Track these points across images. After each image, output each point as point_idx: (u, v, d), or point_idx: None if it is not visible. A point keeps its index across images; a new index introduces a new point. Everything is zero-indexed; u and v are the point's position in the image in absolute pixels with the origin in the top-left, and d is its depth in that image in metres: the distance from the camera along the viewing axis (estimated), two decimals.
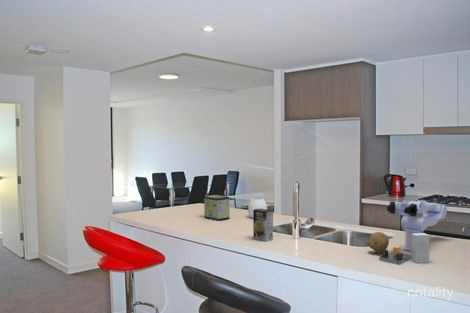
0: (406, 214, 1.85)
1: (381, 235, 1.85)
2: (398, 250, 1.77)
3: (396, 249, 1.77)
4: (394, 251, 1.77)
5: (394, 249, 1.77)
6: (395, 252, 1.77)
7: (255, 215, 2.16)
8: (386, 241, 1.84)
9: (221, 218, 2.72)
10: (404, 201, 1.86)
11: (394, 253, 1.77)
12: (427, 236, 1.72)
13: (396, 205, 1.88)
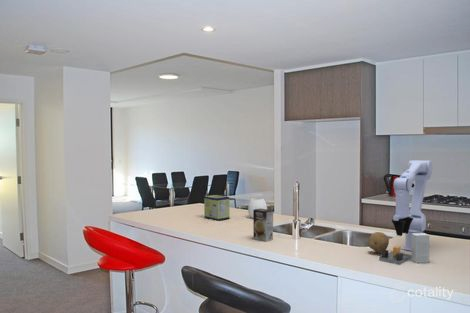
0: None
1: (381, 235, 1.85)
2: (398, 250, 1.77)
3: (396, 249, 1.77)
4: (394, 251, 1.77)
5: (394, 249, 1.77)
6: (395, 252, 1.77)
7: (255, 215, 2.16)
8: (386, 241, 1.84)
9: (221, 218, 2.72)
10: (409, 216, 1.80)
11: (394, 253, 1.77)
12: (427, 236, 1.72)
13: None
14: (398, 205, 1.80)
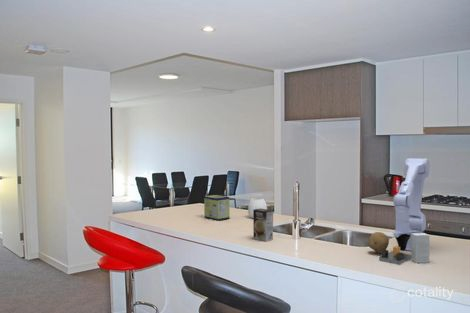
0: None
1: (381, 235, 1.85)
2: (398, 250, 1.77)
3: (396, 249, 1.77)
4: (394, 251, 1.77)
5: (394, 249, 1.77)
6: (395, 252, 1.77)
7: (255, 215, 2.16)
8: (386, 241, 1.84)
9: (221, 218, 2.72)
10: (409, 232, 1.80)
11: (394, 253, 1.77)
12: (427, 236, 1.72)
13: None
14: (398, 221, 1.81)
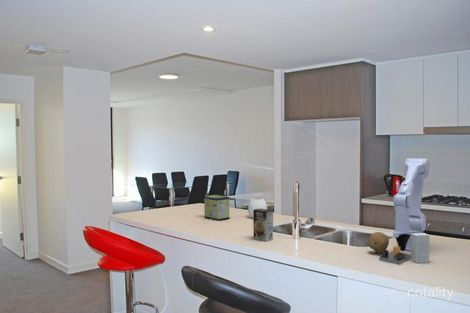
0: None
1: (381, 235, 1.85)
2: (398, 250, 1.77)
3: (396, 249, 1.77)
4: (394, 251, 1.77)
5: (394, 249, 1.77)
6: (395, 252, 1.77)
7: (255, 215, 2.16)
8: (386, 241, 1.84)
9: (221, 218, 2.72)
10: (409, 232, 1.80)
11: (394, 253, 1.77)
12: (427, 236, 1.72)
13: None
14: (398, 221, 1.81)
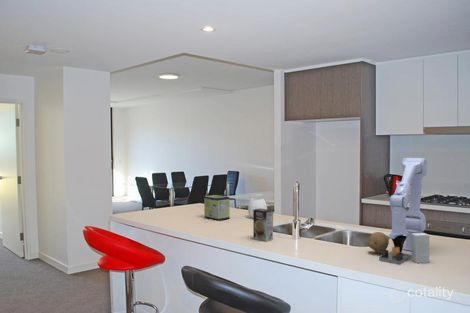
0: None
1: (381, 235, 1.85)
2: (397, 250, 1.77)
3: (395, 249, 1.76)
4: (393, 251, 1.77)
5: (393, 249, 1.77)
6: (394, 252, 1.77)
7: (255, 215, 2.16)
8: (386, 241, 1.84)
9: (221, 218, 2.72)
10: None
11: (393, 253, 1.77)
12: (427, 236, 1.72)
13: None
14: (394, 222, 1.78)
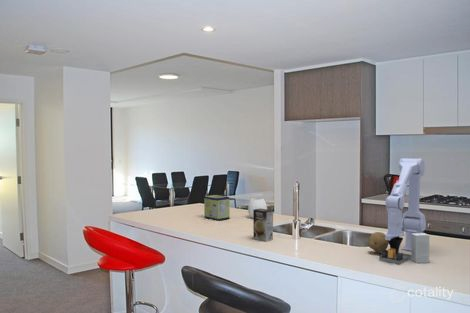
0: None
1: (381, 235, 1.85)
2: (393, 252, 1.74)
3: (391, 251, 1.73)
4: (389, 253, 1.74)
5: (389, 251, 1.74)
6: (390, 254, 1.74)
7: (255, 215, 2.16)
8: (386, 241, 1.84)
9: (221, 218, 2.72)
10: (402, 235, 1.74)
11: (389, 255, 1.74)
12: (427, 236, 1.72)
13: None
14: (390, 224, 1.75)
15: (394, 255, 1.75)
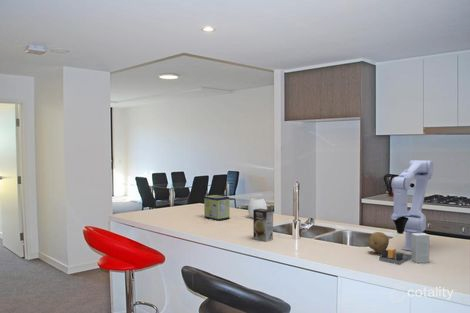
0: None
1: (381, 235, 1.85)
2: (393, 252, 1.74)
3: (391, 251, 1.73)
4: (389, 253, 1.74)
5: (389, 251, 1.74)
6: (390, 254, 1.74)
7: (255, 215, 2.16)
8: (386, 241, 1.84)
9: (221, 218, 2.72)
10: (407, 215, 1.80)
11: (389, 255, 1.74)
12: (427, 236, 1.72)
13: None
14: (396, 204, 1.81)
15: (394, 255, 1.74)
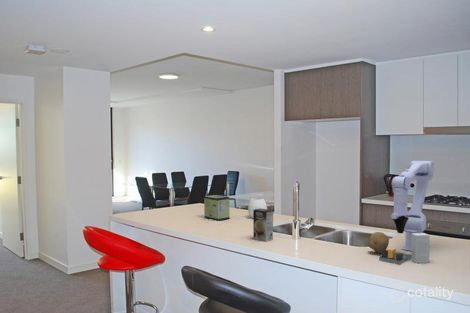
0: None
1: (381, 235, 1.85)
2: (393, 252, 1.74)
3: (391, 251, 1.73)
4: (389, 253, 1.74)
5: (389, 251, 1.74)
6: (390, 254, 1.74)
7: (255, 215, 2.16)
8: (386, 241, 1.84)
9: (221, 218, 2.72)
10: (407, 215, 1.81)
11: (389, 255, 1.74)
12: (427, 236, 1.72)
13: (399, 215, 1.80)
14: (396, 203, 1.81)
15: (394, 255, 1.74)
